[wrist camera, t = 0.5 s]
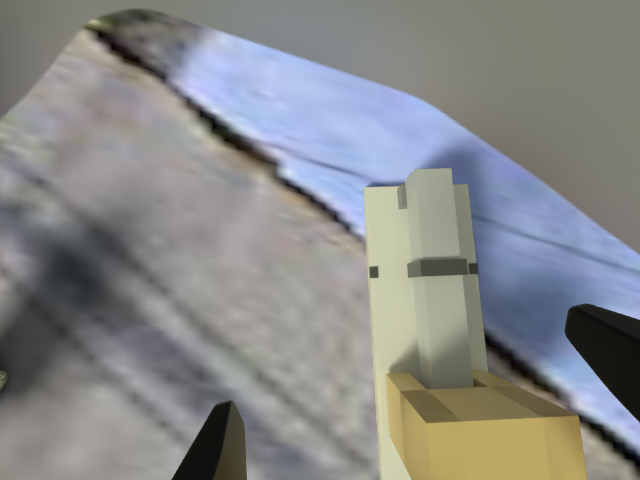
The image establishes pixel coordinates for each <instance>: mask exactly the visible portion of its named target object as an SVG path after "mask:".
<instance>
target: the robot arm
mask: <svg viewBox="0 0 640 480" xmlns="http://www.w3.org/2000/svg"><path fill="white" fill-rule="evenodd" d="M565 334H566V337H567V338H568V340H569V341H570V342H571V344H572V345H573V346H574V347H575V349H576V350H577V351H578V352H579V354H580V355H581V356H582V357H583V359H584V360H585V361H586V362H587V363H588V365H589V366H590V367H591V368H592V370H593V371H594V372H595V373H596V375H597V376H598V377H599V378H600V380H601V381H602V382H603V383H604V384H605V386H606V387H607V388H608V389H609V390H610V392H611V393H612V394H613V395H614V396H615V397H616V398H617V399H618V400H619V401H620V402H621V403H622V405H623V406H624V407H625V408H626V409H627V410H628V411H629V412H630V413H631V414H632V415H633V416H634V417H635V418H636V419H637V420H638V421H639V422H640V320H638V319H635V318H632V317H629V316H626V315H623V314H620V313H616V312H613V311H610V310H607V309H604V308H601V307H598V306H594V305H591V304H580V305H576V306H573V307H571V308H570V309H569V310H568V314H567V320H566V325H565ZM172 480H247V472H246V450H245V429H244V423H243V420H242V417H241V415H240V413H239V411H238V409H237V407H236V405H235V403H234V402H233V401H231V400H229V401H226V402H222V403H219V404H217V405H215V407H214V408H213V410H212V411H211V413H210V415H209V416H208V418H207V420H206V422H205V423H204V425H203V427H202V428H201V430H200V432H199V434H198V435H197V437H196V439H195V440H194V442H193V444H192V445H191V447H190V449H189V451H188V452H187V454H186V456H185V457H184V459H183V461H182V463H181V464H180V466H179V468H178V469H177V471H176V473H175V475H174V476H173V478H172Z"/></svg>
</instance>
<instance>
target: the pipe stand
mask: <svg viewBox="0 0 640 480" xmlns="http://www.w3.org/2000/svg"><path fill="white" fill-rule="evenodd" d="M363 203H364V219H365V236H366V253H367V269H368V286H369V302H370V319H371V336H372V352H373V369H374V385H375V402H376V418H377V435H378V452H379V468H380V480H411V478H410V476H409V474H408V472H407V470H406V468H405V466H404V464H403V462H402V460H401V458H400V456H399V454H398V452H397V450H396V448H395V446H394V444H393V442H392V440H391V438H390V436H389V422H388V407H387V392H386V376H385V374H388V373H409V374H410V375H411V376H413V377H414V378H415V379H416V380H417V381H418V382H419V383H420V384H421V385H423V386H424V387H425V388H426V389H427V390H431V389H452V388H473V387H474V385H473V375H472V370H475V369H483V370H485V371H487V372H488V364H487V355H486V346H485V337H484V328H483V319H482V309H481V300H480V291H479V282H478V266H477V263H476V254H475V245H474V236H473V227H472V218H471V208H470V199H469V190H468V184H453V179H452V169H451V168H439V169H415V170H414V171H413V172H412V174H411V175H410V176H409V177H408V178H407V179H406V181H405V184H401V185H400V186H392V187H364V189H363Z"/></svg>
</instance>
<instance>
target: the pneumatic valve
mask: <svg viewBox="0 0 640 480" xmlns="http://www.w3.org/2000/svg"><path fill="white" fill-rule="evenodd" d="M7 380H8V376H7V372H5V371H0V391H1V389H2V388H3V386H4V385H5V383H6V381H7Z"/></svg>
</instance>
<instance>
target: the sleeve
mask: <svg viewBox="0 0 640 480" xmlns="http://www.w3.org/2000/svg"><path fill="white" fill-rule="evenodd" d="M472 375H473V385H474V387H473V388H452V389H431V390H427V389H426V388H425V387H424V386H423V385H421V384H420V383H419V382H418V381H417V380H416V379H415V378H414V377H413V376H411V375H410V374H409V373H388V374H385V376H386V392H387V407H388V422H389V436H390V438H391V440H392V442H393V444H394V446H395V448H396V450H397V452H398V454H399V456H400V458H401V460H402V462H403V464H404V466H405V468H406V470H407V472H408V474H409V476H410V478H411V480H587V473H586V466H585V459H584V452H583V445H582V438H581V432H580V425H579V418H578V415H576V414H573V413H571V412H569V411H567V410H565V409H563V408H561V407H559V406H557V405H555V404H553V403H551V402H549V401H547V400H545V399H543V398H541V397H539V396H536V395H534V394H532V393H530V392H528V391H526V390H524V389H522V388H520V387H518V386H516V385H514V384H512V383H510V382H508V381H506V380H504V379H502V378H499V377H497V376H495V375H493V374H491V373H489V372H487V371H485V370H483V369H475V370H472Z"/></svg>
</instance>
